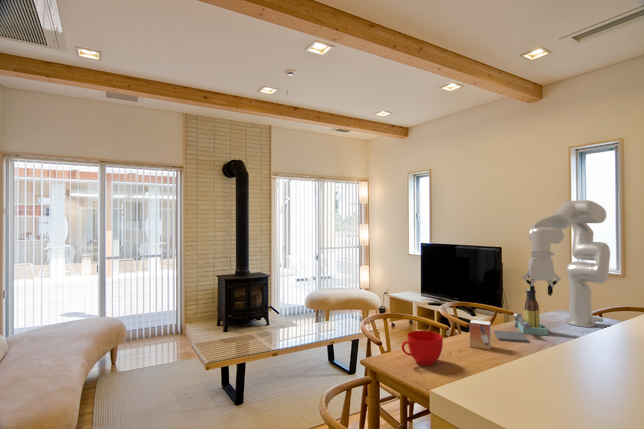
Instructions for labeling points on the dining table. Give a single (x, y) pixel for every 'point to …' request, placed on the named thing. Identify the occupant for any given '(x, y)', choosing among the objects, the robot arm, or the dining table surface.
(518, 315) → the bar
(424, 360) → the ceramic cup
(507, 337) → the pad
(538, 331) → the teal square frame
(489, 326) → the small box
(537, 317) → the sauce bottle
